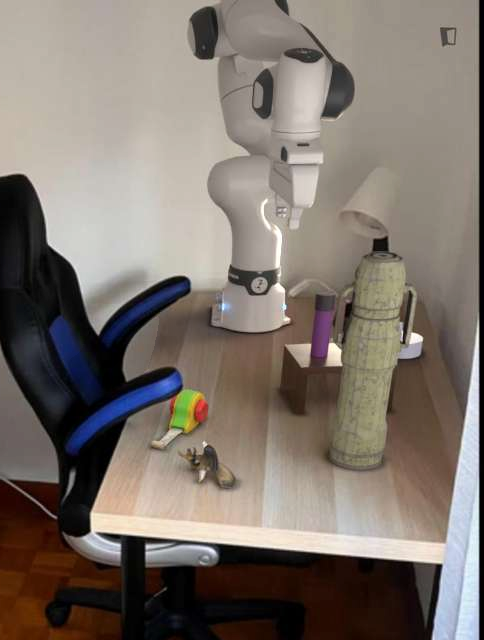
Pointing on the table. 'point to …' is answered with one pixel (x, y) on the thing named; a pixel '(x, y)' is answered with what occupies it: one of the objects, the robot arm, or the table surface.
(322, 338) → the marker
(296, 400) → the small wooden stool
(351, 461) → the thermos
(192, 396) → the toy measuring tape
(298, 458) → the table surface
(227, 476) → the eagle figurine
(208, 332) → the table surface
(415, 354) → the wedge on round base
